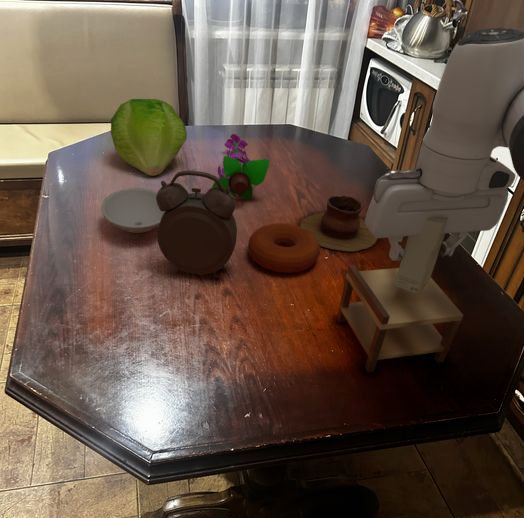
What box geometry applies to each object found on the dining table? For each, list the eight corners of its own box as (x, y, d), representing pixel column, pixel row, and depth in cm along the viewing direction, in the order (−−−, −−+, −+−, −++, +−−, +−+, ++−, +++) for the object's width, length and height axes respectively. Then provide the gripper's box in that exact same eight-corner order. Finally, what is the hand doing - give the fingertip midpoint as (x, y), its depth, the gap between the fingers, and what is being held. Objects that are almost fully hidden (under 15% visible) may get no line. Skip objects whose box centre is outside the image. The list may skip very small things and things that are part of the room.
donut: (283, 232, 114) (285, 212, 111) (332, 262, 107) (337, 241, 103) (232, 253, 106) (233, 231, 103) (281, 287, 99) (284, 265, 95)
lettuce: (104, 177, 127) (139, 137, 116) (98, 113, 133) (131, 68, 122) (162, 198, 139) (199, 163, 128) (154, 138, 145) (189, 100, 134)
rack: (406, 311, 96) (423, 258, 88) (443, 362, 86) (467, 307, 78) (336, 318, 93) (348, 264, 85) (367, 372, 83) (383, 316, 75)
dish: (104, 209, 116) (101, 188, 112) (168, 207, 119) (167, 187, 115) (104, 250, 103) (100, 228, 100) (176, 247, 106) (175, 225, 103)
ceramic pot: (333, 205, 126) (338, 178, 121) (393, 235, 117) (401, 206, 113) (283, 227, 116) (286, 198, 111) (344, 261, 107) (351, 231, 102)
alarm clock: (237, 264, 103) (242, 167, 90) (231, 285, 98) (235, 185, 84) (166, 255, 104) (160, 157, 90) (156, 275, 98) (149, 174, 85)
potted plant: (221, 225, 122) (217, 174, 150) (283, 193, 119) (268, 147, 146) (194, 179, 115) (196, 135, 142) (260, 144, 112) (248, 105, 139)
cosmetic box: (419, 296, 79) (444, 224, 71) (392, 286, 80) (413, 215, 72) (430, 277, 83) (455, 207, 75) (404, 268, 84) (426, 199, 76)
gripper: (389, 181, 64) (366, 273, 74) (526, 175, 69) (488, 262, 79) (369, 160, 69) (350, 250, 78) (499, 156, 74) (466, 241, 83)
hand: (420, 256), depth 78 cm, fingers closed on cosmetic box, 7 cm apart
